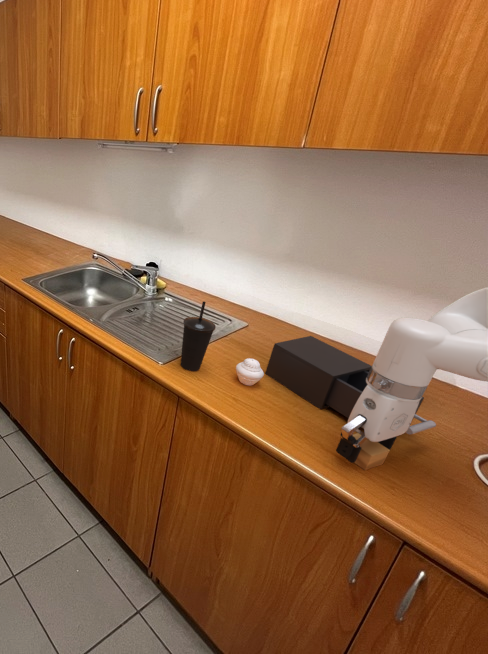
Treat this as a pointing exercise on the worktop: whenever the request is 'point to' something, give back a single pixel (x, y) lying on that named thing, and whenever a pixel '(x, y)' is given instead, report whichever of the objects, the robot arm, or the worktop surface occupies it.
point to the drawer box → (311, 367)
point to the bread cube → (370, 454)
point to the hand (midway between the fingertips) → (362, 451)
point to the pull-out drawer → (349, 392)
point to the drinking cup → (195, 340)
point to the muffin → (249, 371)
